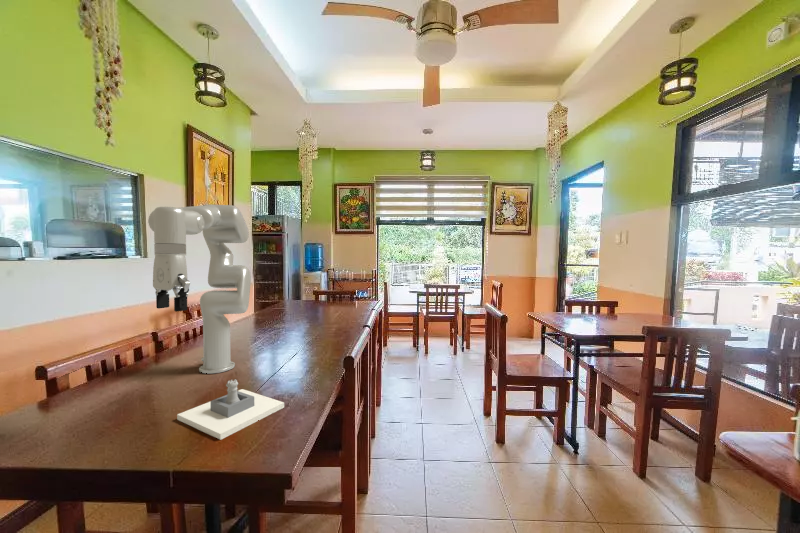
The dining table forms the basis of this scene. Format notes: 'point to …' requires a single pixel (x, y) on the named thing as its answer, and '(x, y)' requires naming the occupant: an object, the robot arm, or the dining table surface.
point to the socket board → (230, 413)
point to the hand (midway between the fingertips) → (171, 309)
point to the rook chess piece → (232, 392)
